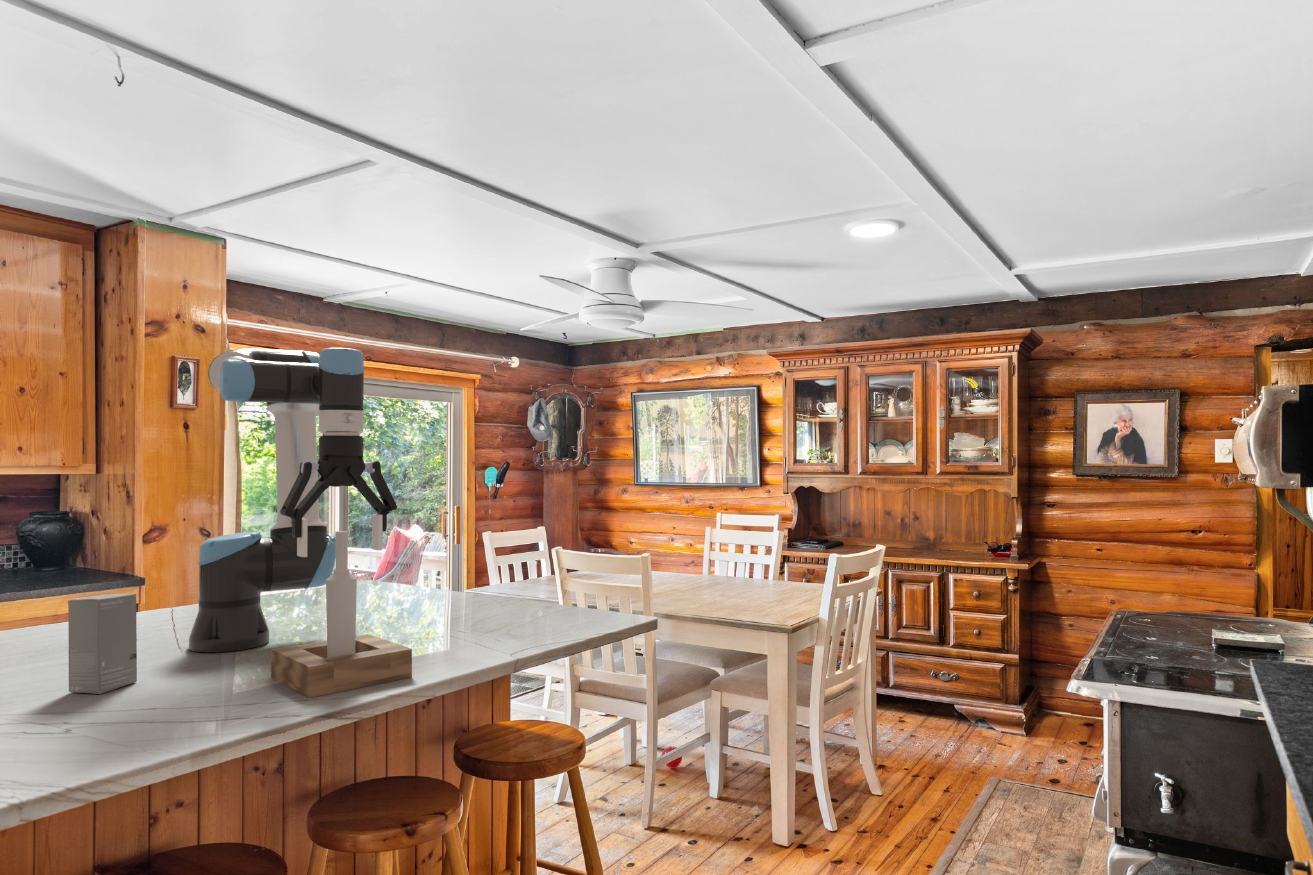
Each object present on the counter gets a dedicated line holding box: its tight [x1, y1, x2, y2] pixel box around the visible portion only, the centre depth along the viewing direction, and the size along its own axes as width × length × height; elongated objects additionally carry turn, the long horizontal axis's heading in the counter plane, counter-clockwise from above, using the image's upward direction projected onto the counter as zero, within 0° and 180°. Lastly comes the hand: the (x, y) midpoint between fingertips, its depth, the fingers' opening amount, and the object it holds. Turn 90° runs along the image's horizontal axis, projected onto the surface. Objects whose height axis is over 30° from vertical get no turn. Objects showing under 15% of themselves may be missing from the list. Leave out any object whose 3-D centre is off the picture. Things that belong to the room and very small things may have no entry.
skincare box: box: [67, 593, 138, 695], centre depth 143 cm, size 8×7×16 cm
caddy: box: [270, 633, 413, 699], centre depth 148 cm, size 18×18×5 cm
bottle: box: [325, 530, 358, 658], centre depth 148 cm, size 5×5×25 cm
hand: (340, 553), depth 149 cm, fingers open, 13 cm apart
